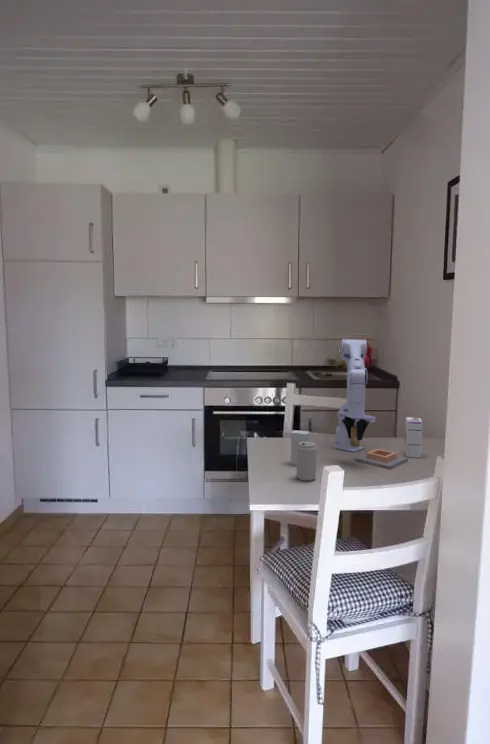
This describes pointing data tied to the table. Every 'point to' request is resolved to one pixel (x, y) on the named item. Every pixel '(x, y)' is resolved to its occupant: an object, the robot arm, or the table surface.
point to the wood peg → (354, 437)
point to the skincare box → (297, 443)
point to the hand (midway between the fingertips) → (355, 439)
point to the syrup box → (413, 437)
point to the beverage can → (306, 461)
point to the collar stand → (382, 458)
